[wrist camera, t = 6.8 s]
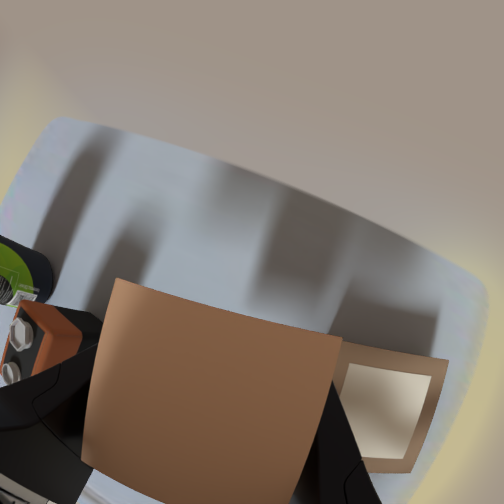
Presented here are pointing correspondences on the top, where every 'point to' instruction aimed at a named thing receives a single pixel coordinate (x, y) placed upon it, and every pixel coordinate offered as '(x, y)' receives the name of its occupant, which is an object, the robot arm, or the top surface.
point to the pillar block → (203, 400)
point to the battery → (45, 338)
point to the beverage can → (23, 274)
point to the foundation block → (388, 402)
